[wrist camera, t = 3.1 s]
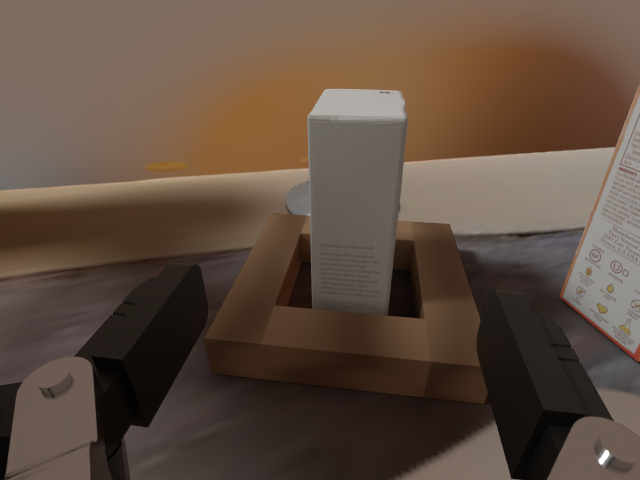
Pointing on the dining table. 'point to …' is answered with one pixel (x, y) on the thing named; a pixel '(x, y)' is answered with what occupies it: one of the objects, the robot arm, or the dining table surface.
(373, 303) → the skincare box
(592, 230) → the cracker box
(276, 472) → the dining table surface
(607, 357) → the dining table surface
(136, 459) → the dining table surface
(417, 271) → the pocket block
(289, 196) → the slate coaster
